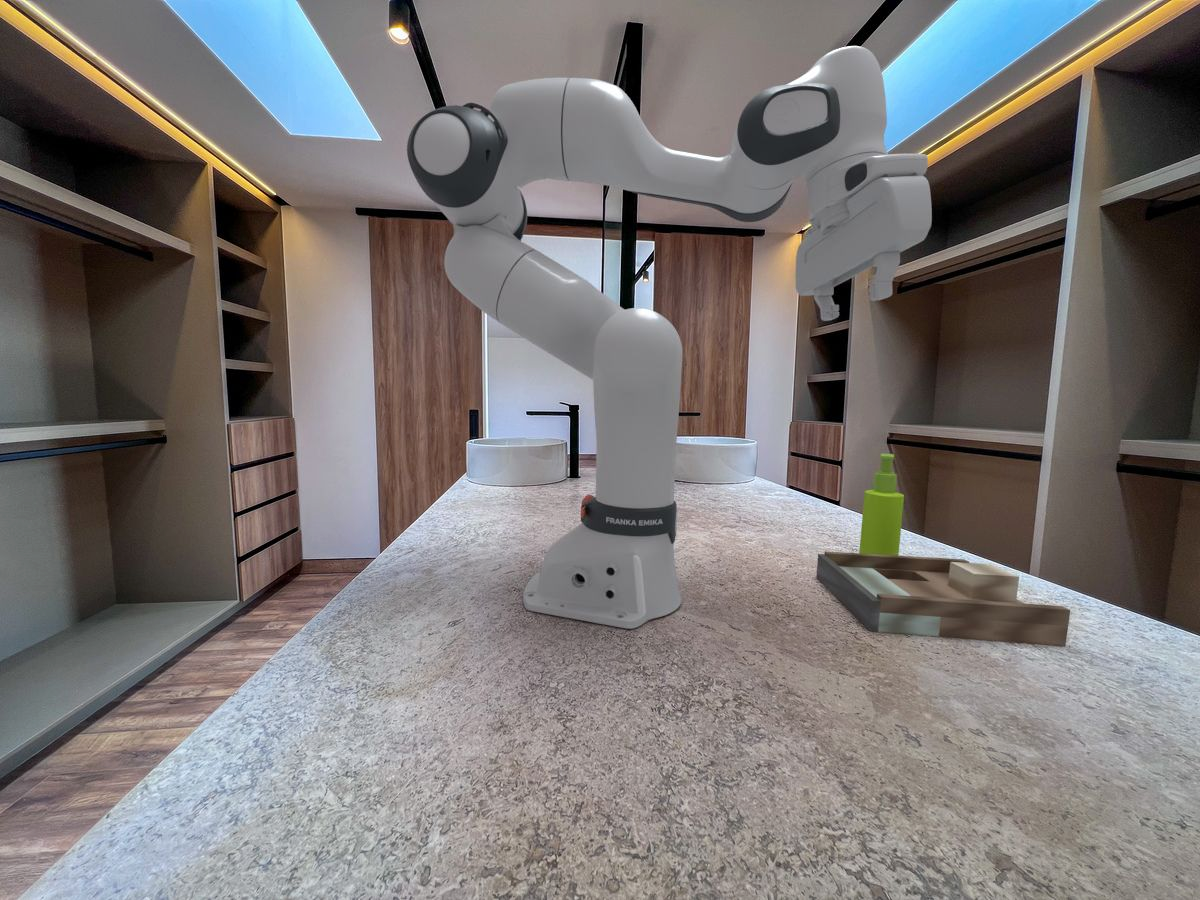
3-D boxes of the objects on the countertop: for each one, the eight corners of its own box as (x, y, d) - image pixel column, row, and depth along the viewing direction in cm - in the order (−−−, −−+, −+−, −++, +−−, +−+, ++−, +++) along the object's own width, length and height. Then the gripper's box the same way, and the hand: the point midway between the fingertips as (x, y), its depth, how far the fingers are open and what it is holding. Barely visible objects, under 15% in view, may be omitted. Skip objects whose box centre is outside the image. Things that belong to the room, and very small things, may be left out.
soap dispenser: (896, 561, 78) (906, 453, 76) (898, 572, 73) (909, 457, 71) (859, 554, 82) (867, 451, 80) (858, 565, 76) (867, 454, 74)
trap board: (869, 631, 53) (872, 596, 52) (816, 577, 70) (818, 551, 69) (1065, 645, 50) (1070, 610, 50) (961, 586, 67) (964, 559, 67)
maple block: (971, 598, 57) (974, 573, 57) (947, 585, 62) (950, 561, 61) (1016, 601, 57) (1019, 576, 56) (989, 587, 61) (992, 564, 61)
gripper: (781, 236, 63) (787, 330, 64) (884, 147, 43) (891, 285, 44) (821, 234, 64) (826, 327, 65) (942, 144, 44) (947, 281, 44)
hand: (853, 310), depth 54 cm, fingers open, 8 cm apart
